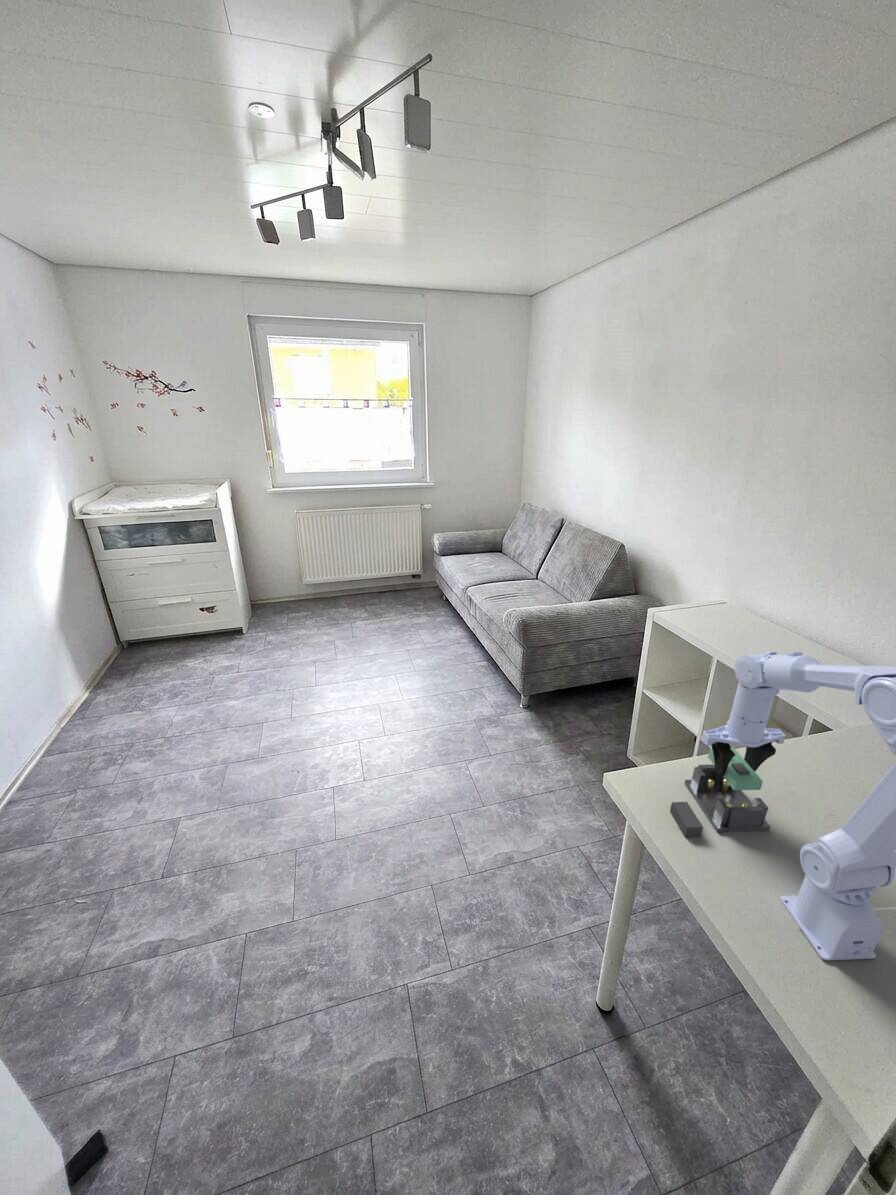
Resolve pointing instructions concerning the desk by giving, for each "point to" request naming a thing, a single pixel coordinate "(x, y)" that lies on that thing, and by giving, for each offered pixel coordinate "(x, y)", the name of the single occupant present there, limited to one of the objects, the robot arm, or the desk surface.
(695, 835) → the dark grey rectangular block
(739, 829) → the chassis
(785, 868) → the desk surface
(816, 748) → the desk surface
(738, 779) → the board
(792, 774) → the desk surface
